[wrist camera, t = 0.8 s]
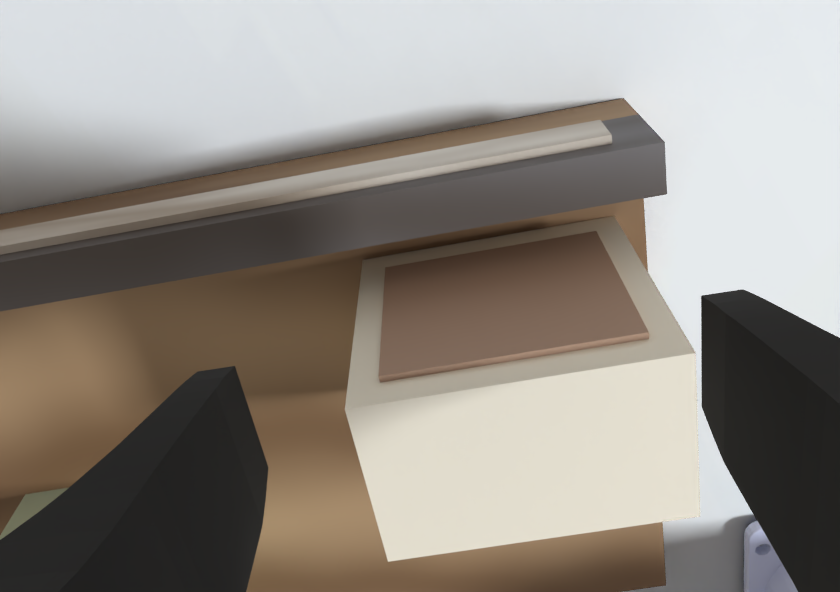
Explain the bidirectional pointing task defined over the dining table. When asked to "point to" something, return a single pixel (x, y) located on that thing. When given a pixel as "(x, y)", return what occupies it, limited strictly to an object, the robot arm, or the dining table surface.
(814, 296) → the dining table surface
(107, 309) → the shelf board
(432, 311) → the cream carton
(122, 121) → the dining table surface
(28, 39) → the dining table surface
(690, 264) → the dining table surface
